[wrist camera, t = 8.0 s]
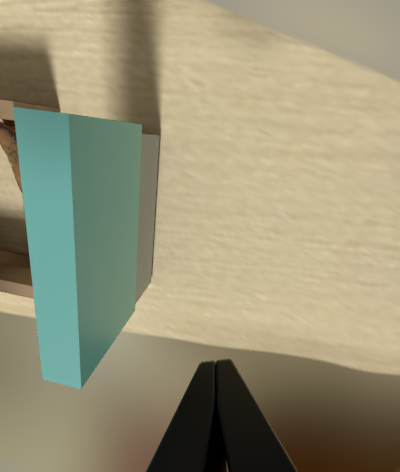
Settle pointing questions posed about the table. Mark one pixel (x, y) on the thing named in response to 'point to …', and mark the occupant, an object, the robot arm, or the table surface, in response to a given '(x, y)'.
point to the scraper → (85, 232)
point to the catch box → (9, 263)
